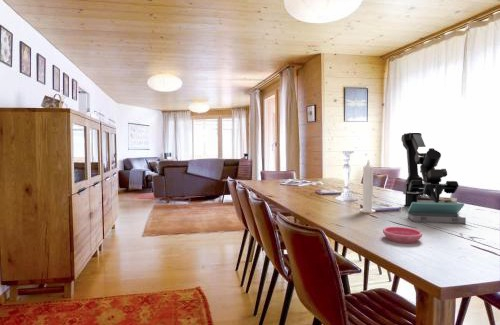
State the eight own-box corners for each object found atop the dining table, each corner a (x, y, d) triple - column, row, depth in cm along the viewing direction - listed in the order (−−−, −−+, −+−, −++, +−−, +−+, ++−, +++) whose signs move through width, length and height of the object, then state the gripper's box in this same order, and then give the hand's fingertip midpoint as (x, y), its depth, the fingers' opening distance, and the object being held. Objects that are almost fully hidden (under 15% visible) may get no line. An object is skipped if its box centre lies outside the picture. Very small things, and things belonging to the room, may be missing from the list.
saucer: (388, 232, 124) (389, 224, 124) (425, 238, 117) (426, 229, 116) (377, 240, 115) (377, 231, 115) (417, 247, 107) (417, 237, 107)
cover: (407, 212, 148) (407, 210, 149) (457, 213, 145) (456, 212, 145) (412, 203, 142) (412, 202, 142) (464, 205, 138) (463, 203, 139)
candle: (376, 213, 158) (377, 160, 156) (360, 212, 159) (361, 160, 158) (373, 210, 165) (374, 159, 163) (358, 209, 166) (359, 159, 165)
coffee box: (454, 200, 154) (416, 197, 164) (454, 214, 155) (416, 210, 165) (457, 197, 162) (420, 194, 172) (457, 211, 162) (420, 207, 172)
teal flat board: (407, 217, 148) (407, 212, 148) (457, 219, 145) (457, 213, 145) (413, 222, 140) (413, 216, 140) (466, 224, 136) (466, 218, 136)
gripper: (411, 162, 147) (418, 190, 136) (457, 162, 143) (468, 191, 133) (405, 178, 155) (412, 206, 145) (449, 178, 151) (459, 207, 141)
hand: (437, 202), depth 141 cm, fingers closed
